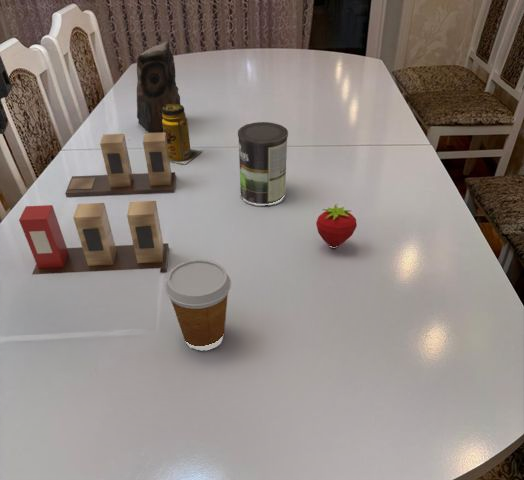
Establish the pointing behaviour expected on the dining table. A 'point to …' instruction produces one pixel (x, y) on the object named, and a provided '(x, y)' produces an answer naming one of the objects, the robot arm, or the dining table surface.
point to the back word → (128, 170)
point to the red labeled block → (44, 236)
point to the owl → (155, 86)
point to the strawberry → (336, 225)
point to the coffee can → (262, 162)
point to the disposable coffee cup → (199, 299)
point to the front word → (102, 243)
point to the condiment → (177, 134)
